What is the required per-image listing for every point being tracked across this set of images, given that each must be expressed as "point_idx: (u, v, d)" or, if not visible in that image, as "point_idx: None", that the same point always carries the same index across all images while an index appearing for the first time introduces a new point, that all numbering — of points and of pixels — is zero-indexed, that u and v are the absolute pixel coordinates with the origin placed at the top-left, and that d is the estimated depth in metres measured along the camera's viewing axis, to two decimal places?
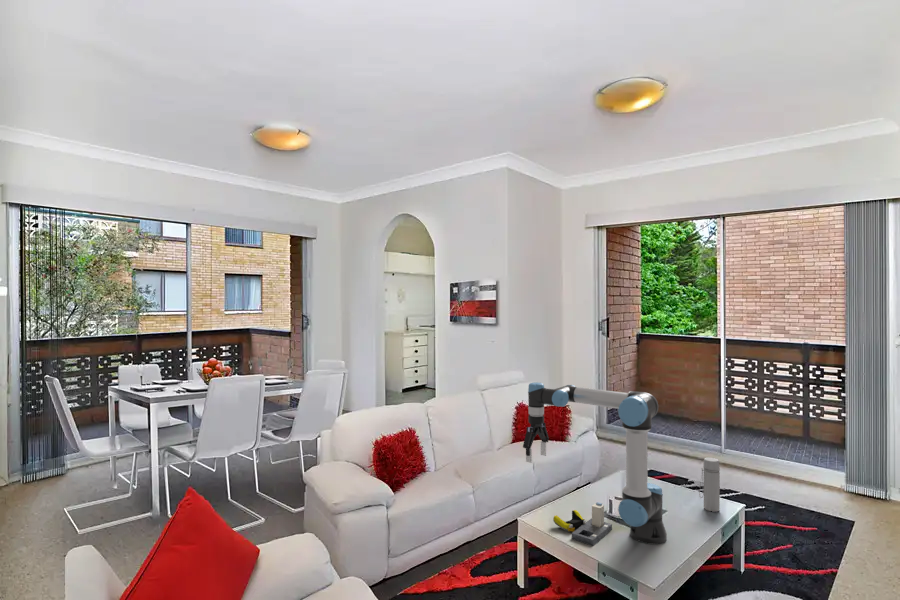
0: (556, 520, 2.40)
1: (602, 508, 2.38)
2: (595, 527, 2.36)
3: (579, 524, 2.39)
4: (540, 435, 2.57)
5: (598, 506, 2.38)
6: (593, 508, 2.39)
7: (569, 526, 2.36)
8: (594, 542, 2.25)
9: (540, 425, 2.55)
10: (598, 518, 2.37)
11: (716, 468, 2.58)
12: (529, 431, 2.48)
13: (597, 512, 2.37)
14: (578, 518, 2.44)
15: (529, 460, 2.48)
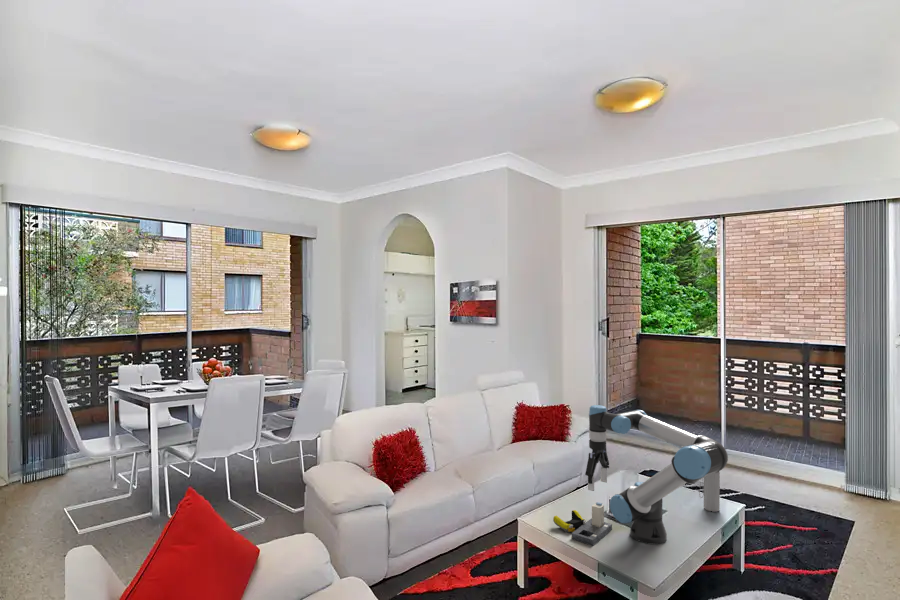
0: (556, 520, 2.40)
1: (602, 508, 2.38)
2: (595, 527, 2.36)
3: (579, 524, 2.39)
4: (601, 461, 2.43)
5: (598, 506, 2.38)
6: (593, 508, 2.39)
7: (569, 526, 2.36)
8: (594, 542, 2.25)
9: (601, 450, 2.40)
10: (598, 518, 2.37)
11: None
12: (592, 457, 2.33)
13: (597, 512, 2.37)
14: (578, 518, 2.44)
15: (591, 488, 2.33)
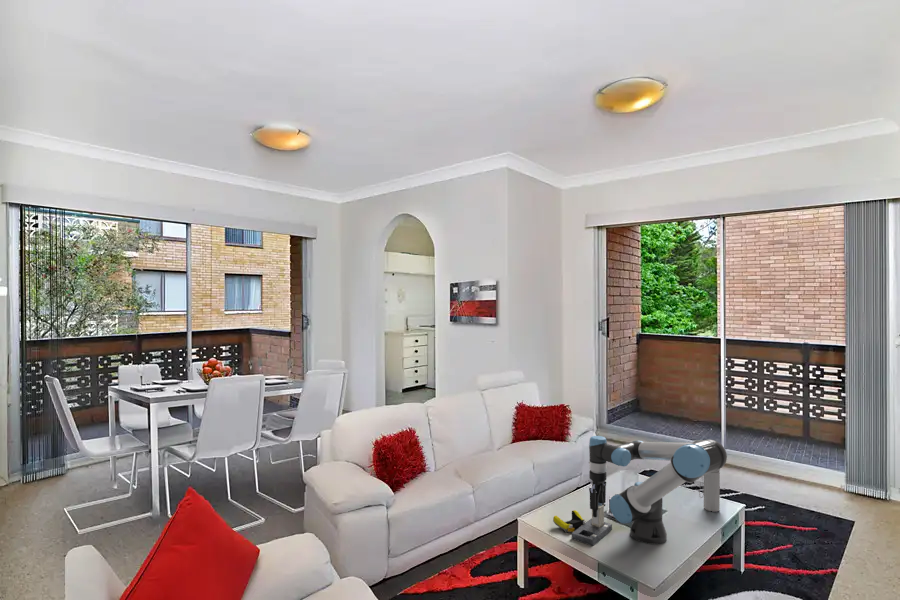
0: (556, 520, 2.40)
1: (602, 508, 2.38)
2: (595, 527, 2.36)
3: (579, 524, 2.39)
4: (599, 495, 2.41)
5: (598, 506, 2.38)
6: None
7: (569, 526, 2.36)
8: (594, 542, 2.25)
9: None
10: None
11: None
12: (593, 493, 2.34)
13: None
14: (578, 518, 2.44)
15: (596, 522, 2.37)
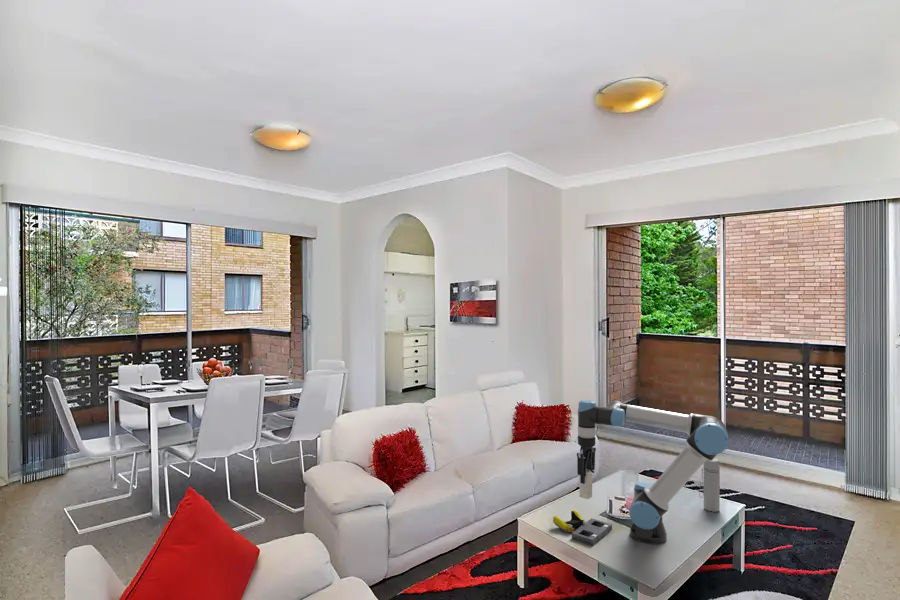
0: (556, 521, 2.39)
1: (590, 474, 2.30)
2: (595, 527, 2.36)
3: (579, 524, 2.39)
4: (587, 461, 2.32)
5: (586, 472, 2.30)
6: None
7: (569, 527, 2.36)
8: (594, 542, 2.25)
9: (591, 446, 2.32)
10: None
11: (716, 468, 2.58)
12: (580, 458, 2.26)
13: None
14: (577, 518, 2.43)
15: (584, 488, 2.28)
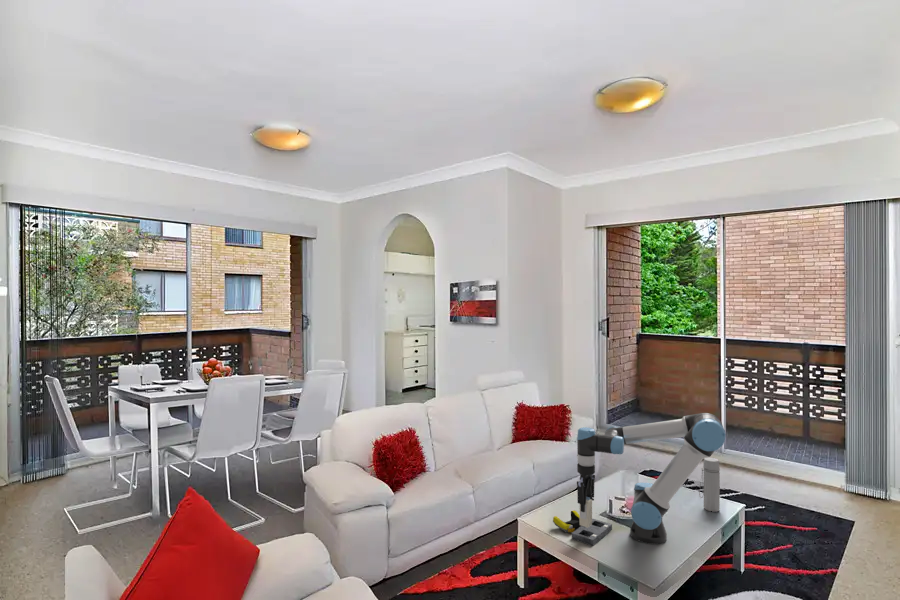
0: (556, 521, 2.39)
1: (590, 502, 2.29)
2: (595, 527, 2.36)
3: (579, 525, 2.38)
4: (587, 489, 2.31)
5: (586, 500, 2.29)
6: None
7: (569, 527, 2.35)
8: (594, 542, 2.25)
9: None
10: None
11: (716, 468, 2.58)
12: (580, 486, 2.25)
13: None
14: (577, 518, 2.43)
15: (584, 517, 2.28)
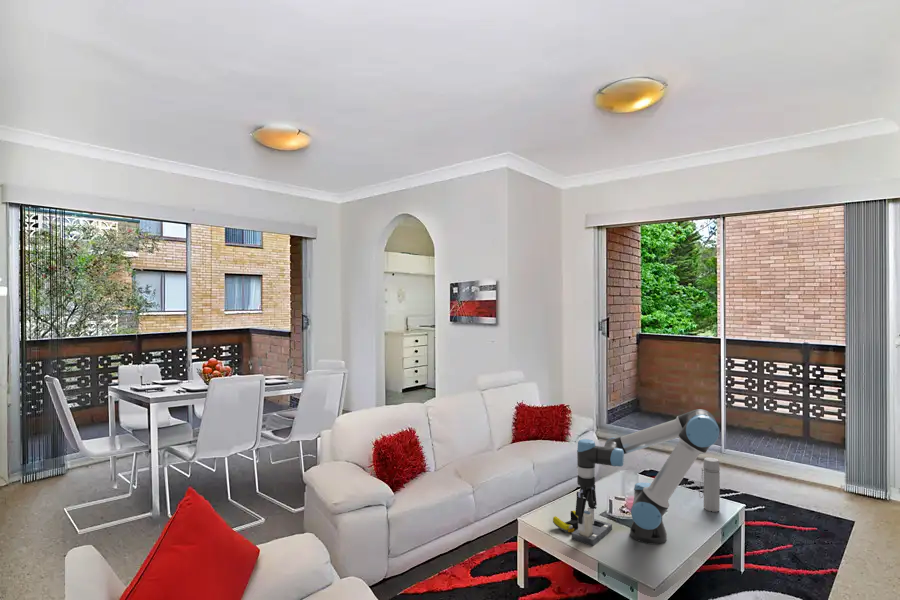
0: (556, 521, 2.39)
1: (590, 517, 2.29)
2: (595, 527, 2.36)
3: None
4: (588, 499, 2.33)
5: (586, 515, 2.29)
6: None
7: (569, 527, 2.35)
8: (594, 542, 2.25)
9: (590, 486, 2.31)
10: (586, 527, 2.28)
11: (716, 468, 2.58)
12: (580, 497, 2.25)
13: (585, 521, 2.28)
14: (577, 519, 2.43)
15: (582, 529, 2.26)
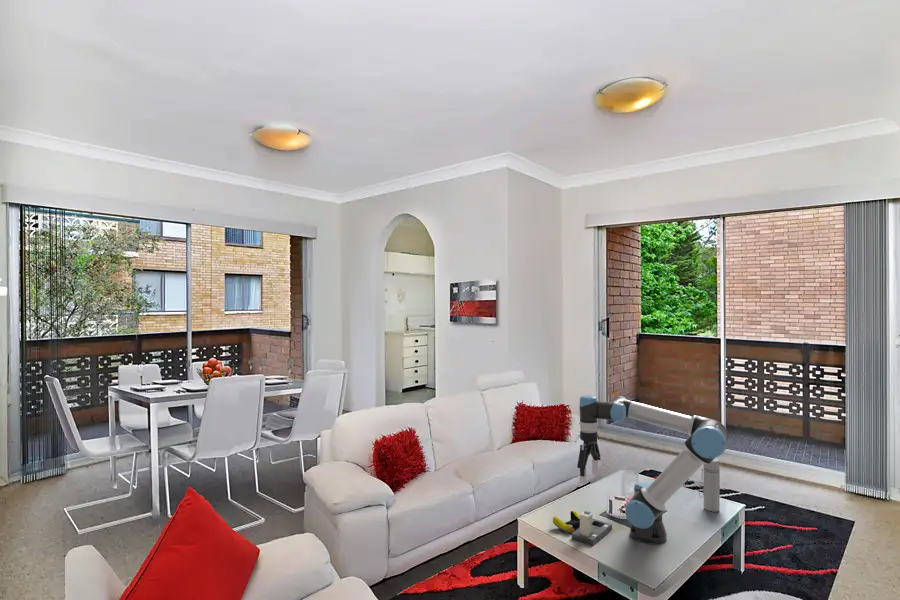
0: (556, 521, 2.39)
1: (590, 517, 2.29)
2: (595, 527, 2.36)
3: (579, 525, 2.38)
4: (592, 453, 2.36)
5: (586, 515, 2.29)
6: (581, 517, 2.29)
7: (569, 527, 2.35)
8: (594, 542, 2.25)
9: (593, 442, 2.34)
10: (586, 527, 2.28)
11: (716, 468, 2.58)
12: (583, 449, 2.27)
13: (585, 521, 2.28)
14: (577, 519, 2.43)
15: (584, 481, 2.27)
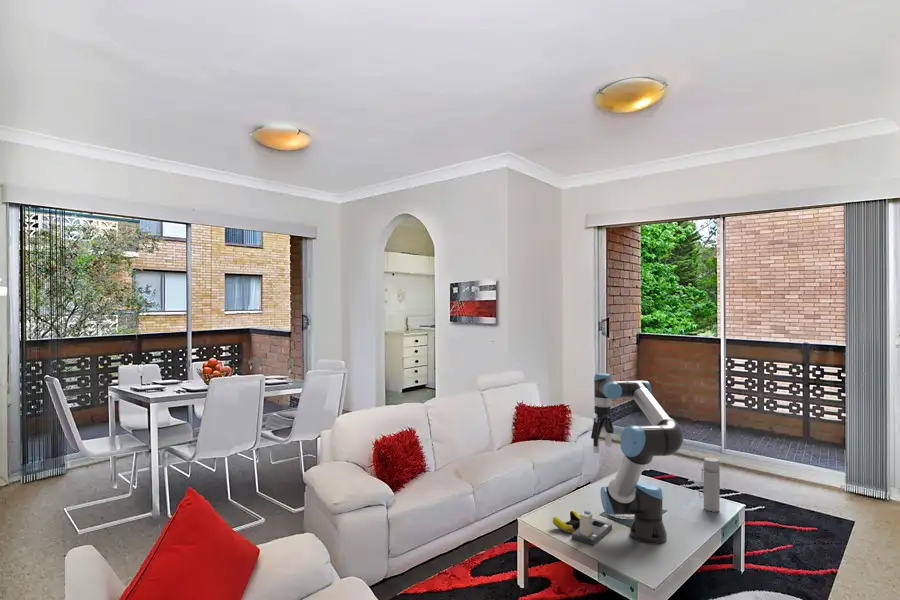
0: (556, 521, 2.39)
1: (590, 517, 2.29)
2: (595, 527, 2.36)
3: (578, 525, 2.38)
4: (605, 426, 2.56)
5: (586, 515, 2.29)
6: (581, 517, 2.29)
7: (569, 527, 2.35)
8: (594, 542, 2.25)
9: (606, 416, 2.53)
10: (586, 527, 2.28)
11: (716, 468, 2.58)
12: (597, 422, 2.46)
13: (585, 521, 2.28)
14: (577, 519, 2.43)
15: (597, 451, 2.46)
